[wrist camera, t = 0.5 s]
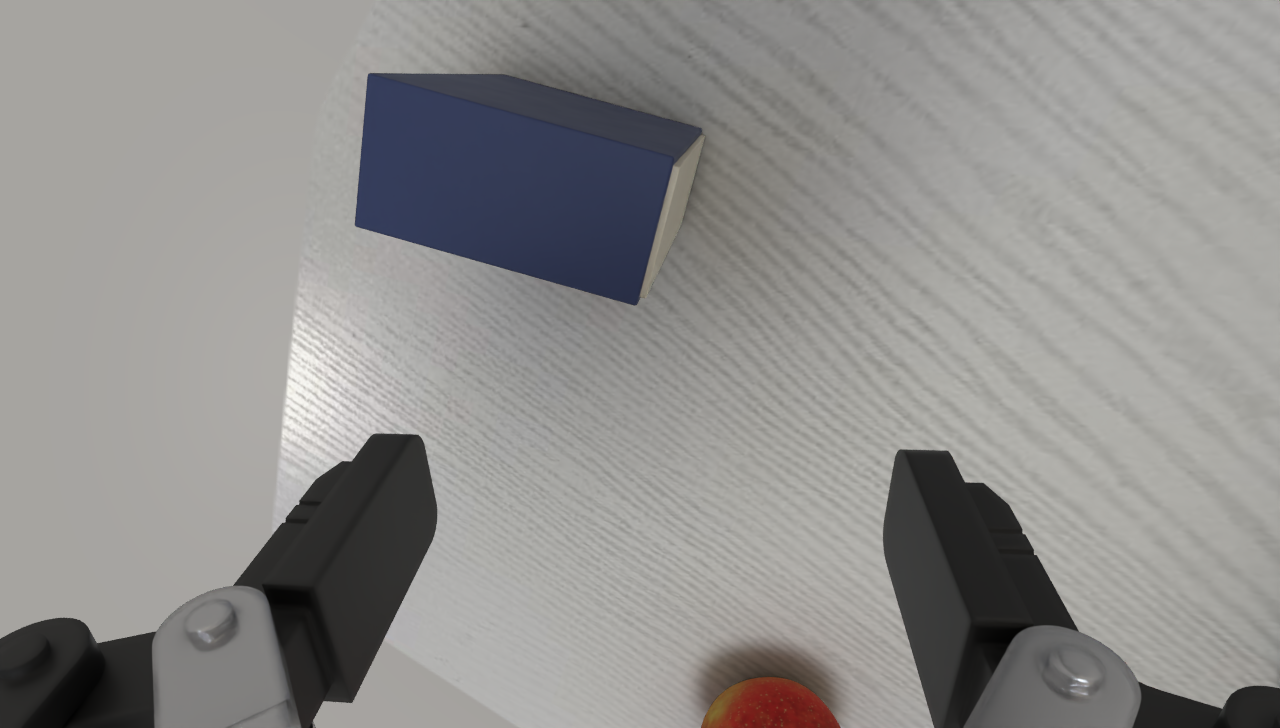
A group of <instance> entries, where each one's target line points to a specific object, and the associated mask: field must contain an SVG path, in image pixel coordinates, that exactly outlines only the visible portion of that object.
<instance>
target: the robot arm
mask: <svg viewBox="0 0 1280 728" xmlns="http://www.w3.org/2000/svg"><path fill="white" fill-rule="evenodd" d="M436 524H437V504H436V499H435V494H434V489H433V484H432V479H431V475H430V470H429V465H428V460H427V455H426V450H425V446H424V442H423V440H422V438H421V437H420V436H419V435H412V434H373V435H372V436H371V437H370V438H369V439H368V440H367V442H366V443H365V444H364V446H363V447H362V448H361V450H360V451H359V453H358V454H357V455H356V457H355V458H354V459H353V461H352V462H349V461H342V462H340V463H339V464H338V465H336V466H335V467H333V468H332V469H330V470H329V471H328V472H326V473H325V474H323V475H322V476H320V477H319V478H318V479H316V480H315V482H314V483H313V484H312V485H311V487H310V488H309V489H308V491H307V492H306V493H305V494H304V496H303V497H302V498H301V500H300V504H299V505H296V506H295V507H294V508H293V510H292V511H291V512H290V514H289V515H288V516H287V517H286V522H285V523H282V524H281V525H280V526H279V528H278V529H277V530H276V531H275V533H274V534H273V535H272V537H271V538H270V539H269V540H268V542H267V543H266V544H265V546H264V547H263V548H262V549H261V551H260V552H259V553H258V555H257V556H256V557H255V558H254V560H253V561H252V562H251V563H250V565H249V566H248V567H247V569H246V570H245V571H244V573H243V574H242V575H241V577H240V578H239V579H238V580H237V582H236V583H235V584H234V585H233V586H229V587H223V588H219V589H215V590H212V591H209V592H206V593H204V594H202V595H199V596H197V597H195V598H194V599H192V600H190V601H188V602H186V603H185V604H183V605H182V606H180V607H179V608H178V609H177V610H175V611H174V612H173V613H172V614H171V615H170V616H169V617H168V618H167V619H166V620H165V621H164V622H163V623H162V624H161V626H160V627H159V629H158V630H157V631H156V632H151V633H146V634H142V635H136V636H132V637H127V638H122V639H117V640H112V641H107V642H102V643H96V641H95V639H94V637H93V636H92V634H91V632H90V630H89V628H88V627H87V626H86V624H85V623H83V622H81V621H80V620H77V619H73V618H55V619H49V620H44V621H41V622H37V623H34V624H31V625H28V626H26V627H23V628H21V629H19V630H16V631H14V632H12V633H10V634H8V635H7V636H5V637H3V638H1V639H0V728H316V727H315V725H314V722H313V719H314V718H315V716H316V714H317V712H318V710H319V708H320V706H321V704H322V702H323V701H332V702H346V703H352V702H353V700H354V698H355V696H356V694H357V692H358V690H359V688H360V686H361V684H362V682H363V680H364V678H365V676H366V674H367V672H368V670H369V668H370V666H371V664H372V661H373V660H374V658H375V656H376V654H377V651H378V650H379V648H380V646H381V644H382V642H383V639H384V637H385V635H386V633H387V631H388V629H389V627H390V625H391V623H392V621H393V619H394V617H395V615H396V613H397V611H398V609H399V607H400V605H401V603H402V601H403V599H404V597H405V595H406V593H407V591H408V589H409V587H410V585H411V583H412V581H413V579H414V577H415V575H416V573H417V571H418V569H419V567H420V565H421V563H422V561H423V558H424V556H425V554H426V552H427V550H428V548H429V546H430V544H431V542H432V540H433V537H434V534H435V530H436ZM883 545H884V554H885V559H886V563H887V567H888V570H889V574H890V577H891V581H892V584H893V587H894V591H895V594H896V598H897V601H898V605H899V608H900V611H901V615H902V618H903V622H904V625H905V629H906V632H907V635H908V639H909V642H910V646H911V649H912V653H913V656H914V659H915V663H916V666H917V670H918V673H919V677H920V680H921V683H922V687H923V690H924V694H925V697H926V701H927V704H928V707H929V711H930V714H931V718H932V721H933V725H934V728H1280V688H1274V687H1268V686H1250V687H1244V688H1242V689H1239V690H1237V691H1235V692H1234V693H1232V694H1231V696H1230V697H1229V698H1228V700H1227V702H1226V704H1225V705H1224V707H1223V709H1221V708H1218V707H1214V706H1211V705H1208V704H1204V703H1201V702H1198V701H1194V700H1191V699H1187V698H1184V697H1181V696H1177V695H1174V694H1171V693H1167V692H1164V691H1161V690H1158V689H1155V688H1152V687H1149V686H1147V685H1145V684H1142V683H1140V682H1138V681H1137V679H1136V677H1135V675H1134V673H1133V672H1132V671H1131V669H1130V668H1129V667H1128V665H1127V664H1126V663H1125V662H1124V661H1123V660H1122V659H1121V658H1120V657H1119V656H1118V655H1117V654H1116V653H1115V652H1113V651H1112V650H1111V649H1110V648H1108V647H1107V646H1105V645H1104V644H1102V643H1101V642H1099V641H1097V640H1095V639H1094V638H1092V637H1090V636H1088V635H1085V634H1083V633H1081V632H1079V631H1078V629H1077V627H1076V625H1075V624H1074V622H1073V620H1072V618H1071V616H1070V615H1069V613H1068V611H1067V609H1066V607H1065V606H1064V604H1063V602H1062V600H1061V598H1060V597H1059V595H1058V593H1057V591H1056V589H1055V587H1054V586H1053V584H1052V582H1051V580H1050V578H1049V577H1048V575H1047V573H1046V571H1045V569H1044V568H1043V566H1042V564H1041V562H1040V560H1039V559H1038V557H1037V555H1034V549H1033V548H1032V546H1031V544H1030V542H1029V540H1028V539H1027V537H1026V535H1025V534H1023V533H1022V528H1021V526H1020V524H1019V522H1018V521H1017V519H1016V517H1015V515H1014V513H1013V511H1012V510H1011V508H1010V506H1009V505H1008V504H1007V503H1006V502H1005V501H1004V500H1003V499H1001V498H1000V497H999V496H998V495H997V494H996V493H994V492H993V491H992V490H991V489H990V488H989V487H987V486H986V485H985V484H984V483H965V482H964V480H963V478H962V476H961V474H960V472H959V470H958V468H957V466H956V464H955V462H954V460H953V457H952V456H951V454H950V453H949V452H948V451H935V450H899V451H898V452H897V454H896V457H895V461H894V467H893V472H892V478H891V484H890V490H889V496H888V502H887V507H886V513H885V519H884V527H883Z"/></svg>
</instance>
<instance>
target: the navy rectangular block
mask: <svg viewBox="0 0 1280 728" xmlns="http://www.w3.org/2000/svg"><path fill="white" fill-rule="evenodd" d="M701 133H702V129H701V128H699V127H695V126H692V125H688V124H684V123H681V122H677V121H673V120H670V119H666V118H662V117H658V116H655V115H651V114H647V113H644V112H640V111H636V110H633V109H629V108H625V107H622V106H618V105H614V104H611V103H607V102H603V101H600V100H596V99H592V98H589V97H585V96H581V95H578V94H574V93H570V92H567V91H563V90H559V89H556V88H552V87H548V86H544V85H541V84H537V83H533V82H530V81H526V80H522V79H519V78H515V77H511V76H508V75H503V74H393V73H370V74H368V79H367V91H366V102H365V114H364V126H363V137H362V149H361V160H360V172H359V183H358V195H357V206H356V218H355V226H356V227H359V228H363V229H366V230H370V231H373V232H377V233H381V234H384V235H388V236H391V237H395V238H398V239H402V240H405V241H409V242H412V243H416V244H419V245H423V246H426V247H430V248H433V249H437V250H440V251H444V252H448V253H451V254H455V255H458V256H462V257H465V258H469V259H472V260H476V261H479V262H483V263H486V264H490V265H493V266H497V267H500V268H504V269H508V270H511V271H515V272H518V273H522V274H525V275H529V276H532V277H536V278H539V279H543V280H546V281H550V282H553V283H557V284H560V285H564V286H567V287H571V288H575V289H578V290H582V291H585V292H589V293H592V294H596V295H599V296H603V297H606V298H610V299H613V300H617V301H620V302H624V303H627V304H631V305H637V304H638V302H639V300H640V298H646V297H647V295H648V293H649V291H650V289H651V287H652V285H653V283H654V280H655V278H656V276H657V274H658V272H659V270H660V268H661V266H662V264H663V262H664V260H665V258H666V256H667V254H668V252H669V249H670V247H671V245H672V243H673V241H674V239H675V237H676V235H677V233H678V231H679V229H680V227H681V224H682V220H683V217H684V213H685V209H686V206H687V202H688V198H689V195H690V191H691V187H692V183H693V180H694V176H695V172H696V169H697V165H698V161H699V158H700V154H701V150H702V146H703V143H704V139H705V136H704V135H701Z"/></svg>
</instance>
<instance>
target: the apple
mask: <svg viewBox="0 0 1280 728" xmlns="http://www.w3.org/2000/svg"><path fill="white" fill-rule="evenodd" d="M701 728H841V727H840V725H839V724H838V722H837V720H836V719H835V717H834V716H833V714H832V713H831V711H830V710H829V708H828V707H827V706H826V705H825V704H824V703H823V701H822V700H821V699H820V698H819V697H818V696H817V695H816V694H814V693H813V692H812V691H811V690H809V689H808V688H807V687H805V686H803V685H801V684H799V683H797V682H795V681H792V680H789V679H784V678H778V677H760V678H753V679H748V680H745V681H742V682H739V683H737V684H735V685H733V686H731V687H729V688H728V689H726V690H725V691H724V692H723V693H721V694H720V695H719V696H718V697H717V698H716V700H715V701H714V702H713V703H712V705H711V706H710V708H709V710H708V712H707V714H706V716H705V718H704V720H703V723H702V727H701Z"/></svg>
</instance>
